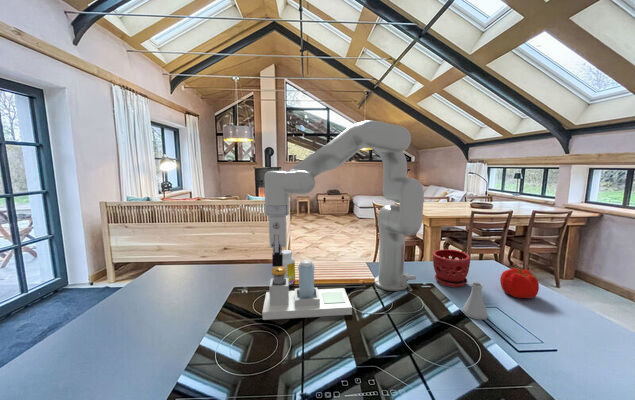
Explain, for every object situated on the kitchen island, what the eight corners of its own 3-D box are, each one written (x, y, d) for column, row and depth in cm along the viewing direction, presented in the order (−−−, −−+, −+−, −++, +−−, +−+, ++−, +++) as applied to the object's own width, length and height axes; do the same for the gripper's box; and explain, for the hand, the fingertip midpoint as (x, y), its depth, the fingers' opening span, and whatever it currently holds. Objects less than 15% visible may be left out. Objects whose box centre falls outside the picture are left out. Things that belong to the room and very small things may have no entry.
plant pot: (448, 273, 116) (450, 246, 114) (475, 286, 103) (478, 257, 102) (424, 278, 111) (426, 250, 109) (450, 292, 99) (452, 261, 97)
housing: (344, 294, 98) (344, 271, 96) (351, 314, 85) (352, 287, 84) (266, 298, 95) (265, 274, 94) (262, 319, 82) (261, 292, 81)
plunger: (286, 288, 91) (286, 266, 90) (286, 295, 86) (286, 271, 85) (272, 289, 90) (272, 266, 89) (271, 296, 86) (270, 272, 85)
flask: (484, 310, 87) (487, 281, 86) (490, 322, 80) (493, 291, 79) (459, 306, 90) (462, 277, 88) (463, 318, 83) (466, 287, 81)
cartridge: (313, 295, 92) (313, 259, 90) (315, 302, 87) (314, 264, 86) (298, 295, 92) (298, 259, 90) (299, 303, 87) (298, 265, 85)
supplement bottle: (296, 278, 111) (296, 249, 109) (293, 286, 104) (292, 254, 103) (280, 278, 112) (280, 248, 110) (276, 285, 105) (275, 254, 103)
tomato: (521, 304, 90) (524, 279, 89) (491, 288, 102) (493, 265, 101) (546, 301, 92) (549, 276, 91) (514, 285, 104) (517, 263, 103)
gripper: (288, 214, 77) (288, 274, 80) (289, 206, 92) (289, 257, 95) (262, 214, 77) (263, 275, 79) (267, 206, 91) (267, 257, 94)
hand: (277, 265), depth 87 cm, fingers closed
